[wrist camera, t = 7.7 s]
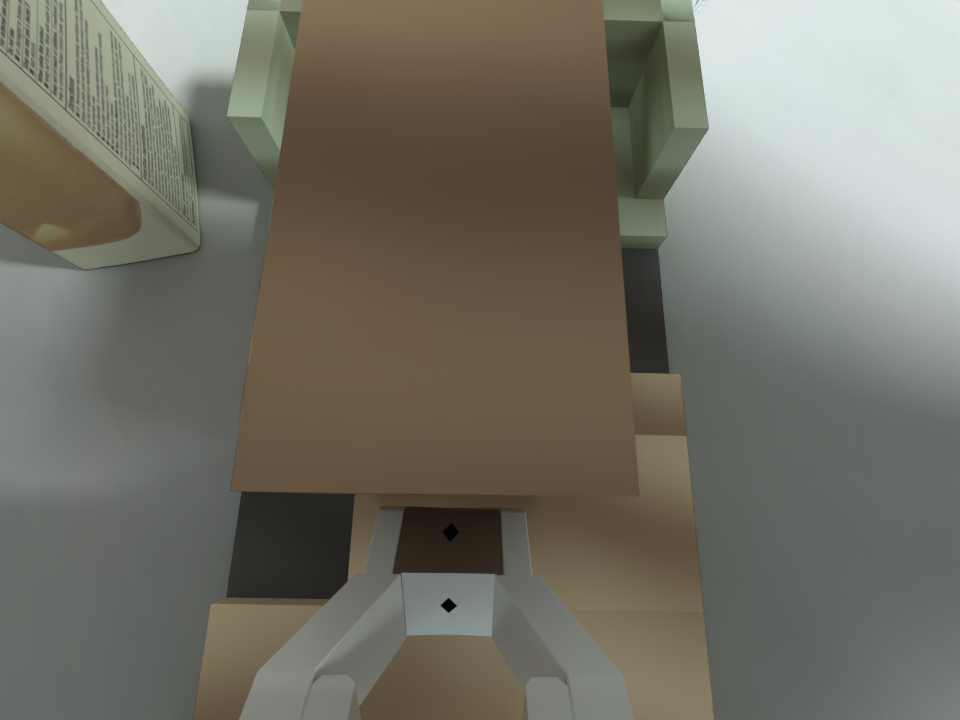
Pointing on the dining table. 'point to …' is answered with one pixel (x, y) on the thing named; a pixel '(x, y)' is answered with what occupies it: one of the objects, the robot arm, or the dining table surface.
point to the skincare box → (90, 139)
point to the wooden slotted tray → (550, 520)
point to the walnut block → (443, 260)
